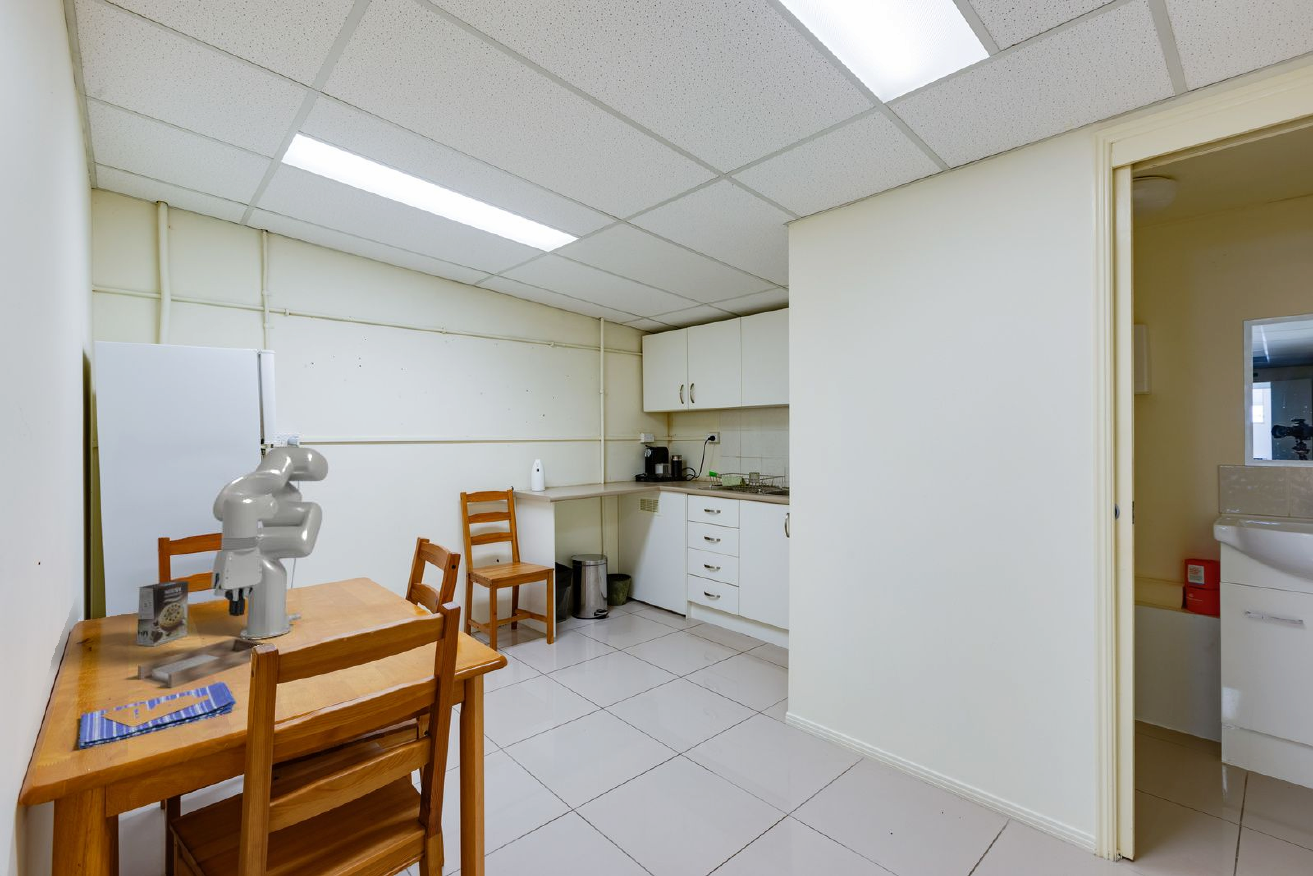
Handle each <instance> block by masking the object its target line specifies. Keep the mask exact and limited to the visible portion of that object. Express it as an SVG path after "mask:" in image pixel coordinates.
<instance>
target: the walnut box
mask: <svg viewBox="0 0 1313 876" xmlns="http://www.w3.org/2000/svg"><path fill="white" fill-rule="evenodd" d="M263 644H267V643H266V642H262V641H261V642H260V641H256V640H248V639H243V638H241V637H233V638H230V639H227V640H223V641H220V642H216V643H212V644H210V645H206V646H202V647H199V648H196V649H192V650H188V651H184V652H181V653H178V654H174V655H172V656H168V657H167V656H166V657H165V658H164V657H163V658H161V659H157V660H153V661H150V662H147V663H144V664H140V665H138V666H137V679H138V680H141V681H144V682H146V683H147V682H148V683H150V684H155V685H158V686H162V687H165V688H168V689H175V688H177V687H180V686H183V685H185V684H189V683H191V682H195V681H198V680H200V679H203V678H206V677H209V676H212V675H215V674H219V673H221V672H222V673H223V672H225V671H228V670H231V669H234V668H236V667H239V666H242V665H246V664H249V663H252V662H251V654H252V649H253V647H254V646H257V645H263ZM202 654H206V655H210V656H214V657H218V659H215V660H212V661H209V662H206V663H202V664H199V665H196V666H193V667H190V668H186V669H183V670H180V671H177V672H174V673H170V674H169V676H168V682H164V681H160V680H157V679H153V678H152V669H155V668H159V667H162V666H166V665H169V664H172V663H176V662H179V661H182V660H186V659H189V658H192V657H196V656H199V655H202Z"/></svg>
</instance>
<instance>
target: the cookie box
mask: <svg viewBox="0 0 1313 876" xmlns="http://www.w3.org/2000/svg"><path fill="white" fill-rule="evenodd" d="M138 595H139V596H138V609H137V611H138V612H137V615H138V616H137V631H136V633H137V635H136V645H139V646H145V647H146V646H148V647H157V646H160V645H163V644H167V643H169V641H170V642H172V641H175V640H176V641H177V640H179V638H180V639H182V637H183V638H185V637H184V636H186V637H187V633H188V632H187V629H188V626H187V625H188V602H189V601H188V600H189V581H186V580H168V581H164V582H159V583H154V584H148V585H143V586H140V587H139V593H138ZM166 642H167V643H166Z"/></svg>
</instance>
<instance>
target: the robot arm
mask: <svg viewBox="0 0 1313 876" xmlns="http://www.w3.org/2000/svg"><path fill="white" fill-rule="evenodd" d="M328 473H329V463H328V460H327V459H326V457H324V455H323V454H321V452H319V451H317V450H316V449H314V448H312V447H311V448H310V447H284V446H282V447H275V448H273V449H270V450H269V451H268V452H267V453H266V454H265V456H264V457H263V459H262V460H261V462H260V463H259V465H258V466H257V468H256V469H255V471H252V472H250V473H247V474H246V475H243V476H241V477H238V478H236V479H234V480H231V481H230V482H229V483H227V484H226V485H225V486H224V487H223V488H222V490H221V491H220V492H219V494H218V495H217V497H216V498H215V500H214V502H213V507H212V513H213V514H212V515H213V517H214V518H215V519H216V521H219V522H222V526H221V549H220V550H217V552H216V555H215V559H214V563H213V568H212V573H211V588H212V589H214V591H213V595H214V596H216V597H224V598H225V599H226V600H228V602H229V603H228V612H229V616H232V617H239V616H243V615H245V610H246V599H247V612H246V613H247V617H246V619H247V620H246V621H247V622H246V623H247V625H246V626H247V627H246V628H245V629H243V630H241V632H240V635H239V636H241V637H242V639H243V638H245V639H247V640H248V639H252V638H263V637H269V636H276V635H279V634H283V633H285V632H288V631H290V629H291V628H292V627H293V626H292V625H291V624H290V623H291V622H292V621H296V620H299V619H300V620H301V618H302V613H300V612H295V613H293V614H292V613H287V592H288V591H287V590H288V589H287V584H288V582H287V581H288V571H287V569H286V567H285V566H284V565H283V563H282V562H281V561H280V559H302V558H307V557H309V556H310V555H311V554H312V553H313V551H314V549H315V545H316V542H317V539H318V535H319V533H320V529H321V526H322V523H323V522H322V521H323V510H322V508H321V506H320V505H319V504H318V503H317V502H313V501H302V500H303V495H302V492H300V490H299V489H298V488H297V487H296V485H293V484H292V483H291V482H321V481H323V480H325V478H326V477H327V476H328ZM259 522H261V525H262V527H258V526H259ZM291 630H292V629H291ZM290 632H291V631H290ZM288 633H289V632H288ZM283 635H284V634H283ZM241 637H240V638H241Z"/></svg>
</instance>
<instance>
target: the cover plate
mask: <svg viewBox="0 0 1313 876" xmlns="http://www.w3.org/2000/svg"><path fill="white" fill-rule="evenodd" d="M215 659H218V657H214V656H210V655H206V654H202V655H199V656H196V657H192V658H189V659H186V660H182V661H179V662H176V663H172V664H169V665H166V666H162V667H159V668H155V669H152V678H153V679H157V680H160V681H164V682H168V676H169V674H170V673H174V672H177V671H180V670H183V669H186V668H190V667H193V666H196V665H199V664H202V663H206V662H209V661H212V660H215Z"/></svg>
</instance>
